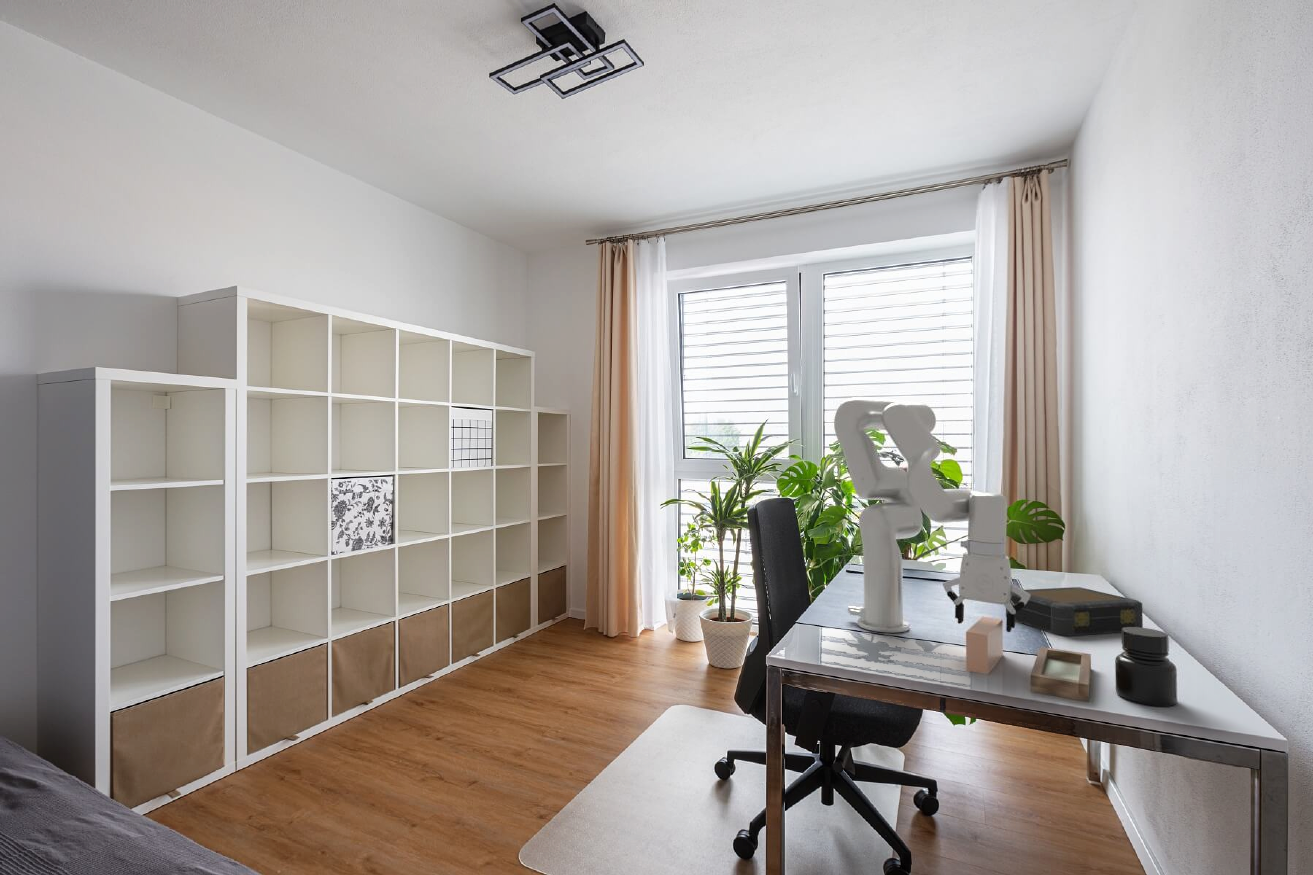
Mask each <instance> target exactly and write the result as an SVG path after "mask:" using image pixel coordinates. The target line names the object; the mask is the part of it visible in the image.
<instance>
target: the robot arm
mask: <svg viewBox="0 0 1313 875" xmlns="http://www.w3.org/2000/svg"><path fill="white" fill-rule="evenodd" d="M936 419H937V418H936V414H935V413H934V411H933V409H932V408H931V407H930V406H929V405H927V404H925V403H920V402H912V401H911V402H910V401H905V400H903V401H902V400H896V399H890V398H879V397H877V398H876V397H867V396H865V397H864V396H860V397H859V396H857V397H851V398H848V399H845V400H844V401H843V402H841V404H839V406H838V407H837V410H836V412H835V416H834V419H833V421H834V422H833V423H834V424H833V425H834V432H835V435H836V438H837V440H838V444H839V446H840V448H841V450H842V453H843V456H844V458H845V462H846V466H847V468H848V472H849V476H850V480H851V482H852V485H853V486H852V487H853V488H854V490H855V493H856V495H857V496H858V497H859V498H861V499H862V500H866V501H874V500H875V501H877V500H879V501H880V500H883V501H884V502H878V503H874V504H873V503H872V504H870V505H868V506H866V507H865V508H863V509H862V511H861V513H860V514H859V519H858V526H859V532H860V536H861V537H860V538H861V542H862V558H863V559H862V561H863V562H862V564H863V606H860V607H857V606H853V605H849V606H848V608H847V612H848V614H850V616H851V615H852V616H858V617H859V618H858V619H857V626H859V627H860V628H862V629H864V630H868V631H871V632H879V633H887V634H888V633H895V634H896V633H903V632H907V631H909V630H910V623H909V622H908V621H906V620H904V606H903V605H904V604H903V603H904V592H903V590H904V586H903V585H904V584H903V583H904V582H903V581H904V580H903V577H904V576H903V571H904V570H903V568H904V567H903V555H902V552H901V548H900V546H899V545H898V541H897V540H901V539H902V540H903V539H910V538H913V537H916V536H917V535H918V534H920V532H921V530H922V528H923V523H924V519H923V514H924V515H925V516H926V517H927V518H928V519H930V520H931V521H933V522H934V523H940V524H943V523H960V522H961V523H962V522H967V523H968V526H967V539H966V540H962V541H960V548H964V549H966V551H965V552H963V554H962V558H961V563H960V571H959V576H958V577H955V578H953V579H950V580H947V581H945V582H942V587H943V589H944V591H945V593H946V595H947V597H948V598H949V599H950V600H951V601H952V602H953V605H954V606H955V608H954V619H957V624H959V625H960V624H963V622H964V616H965V615H964V614H965V613H964V612H965V604H964V603H963V601H965V600H968V601H969V600H970V601H975V602H980V603H981V602H982V603H988V604H994V605H1003V606H1004V607H1005V609H1006V608H1007V609H1008V613H1007V618H1006V622H1005V623H1006V624H1005V625H1006V626H1005V630H1006V632H1007V633H1011V632H1012V629H1015V627H1016V621H1015V613H1016V612H1017V611H1019V610H1020V609H1022V608H1023V607H1024V606H1025V604H1026V603H1027V602H1028V600H1029V599H1030V597H1031V595H1030V594H1029V593H1027V592H1025V591H1024V590H1025V589H1022V588H1020V587H1019V586H1017V585H1015V584H1013V581H1012V580H1013V579H1012V567H1011V562H1010V557H1009V556H1007V555H1006V552H1007V524H1008V522H1007V518H1008V500H1007V498H1006V496H1005V495H1004V494H1001V493H996V492H983V491H982V492H981V491H976V490H973V489H968V488H945V489H944V488H943V487H942V485H941V483H940V482H939V481H938V479H937V478H936V475H935V474H934V472H933V469H932V462H934V461H935V460H936V459H937V458H938V457H939V455H940V453H941V450H942V449H941V445H940V443H939V442H937V440H936V439H935V436H934V435H933V434H932V433H931V432H932V431H934V429H935V427H936V422H937V420H936ZM866 430H878V431H879V430H881V431H884V430H885V431H886V432H887V434H888V435H889V436H890V439H891V440H892V442H893V443H894V445H895V446H896V448H897V450H898V451H899V452H900V454H901V456H902V457H903V459H904V460H905V463H906V464H907V470H906V471H905V470H904V468H902V467H901V466H900V465H897V464H892V463H883V461H882V460H881V458H880V455H879V452H878V449H877V446H876V444H875V442H874V441H873V440H872V439H871V437H870V435H868V433H867V432H866ZM956 585H958V595H959V596H958V595H957V594H956V592H954V591H953V588H952V587H954V586H956ZM1012 591H1013V592H1014V593H1016V594H1017V595H1019V596H1021V600H1020V601H1019V602H1018V603H1017V604H1015V605H1014V603H1013V602H1012V601H1011V600H1010V599H1011V596H1012Z"/></svg>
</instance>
